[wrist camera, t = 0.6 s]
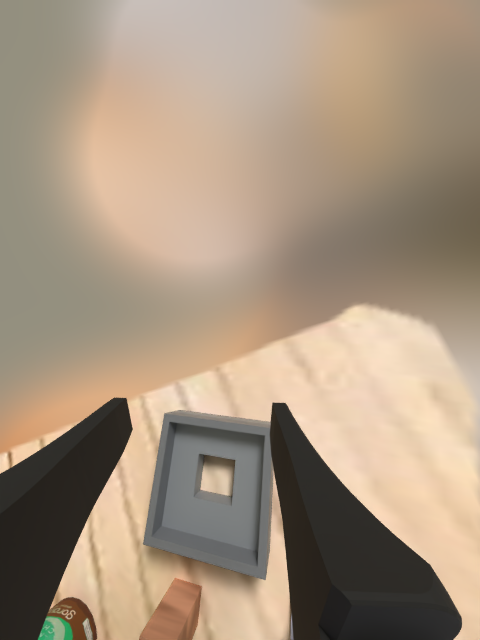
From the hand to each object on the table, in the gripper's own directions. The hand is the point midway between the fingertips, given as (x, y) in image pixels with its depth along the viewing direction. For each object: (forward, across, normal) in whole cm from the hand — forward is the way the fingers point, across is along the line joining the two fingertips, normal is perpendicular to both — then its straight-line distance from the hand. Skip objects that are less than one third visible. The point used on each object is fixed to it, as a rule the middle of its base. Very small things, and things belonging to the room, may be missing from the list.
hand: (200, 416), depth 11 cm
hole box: (+15, +1, +26) cm, 30 cm away
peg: (+6, +5, +39) cm, 40 cm away
